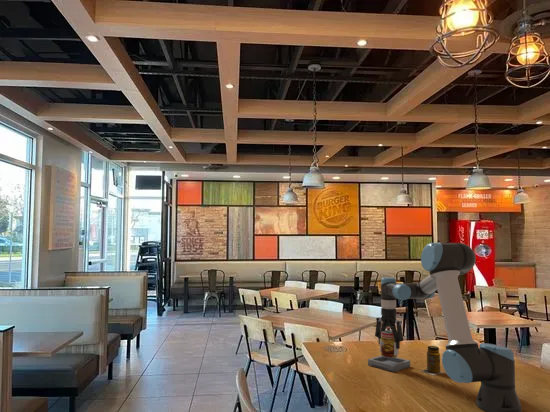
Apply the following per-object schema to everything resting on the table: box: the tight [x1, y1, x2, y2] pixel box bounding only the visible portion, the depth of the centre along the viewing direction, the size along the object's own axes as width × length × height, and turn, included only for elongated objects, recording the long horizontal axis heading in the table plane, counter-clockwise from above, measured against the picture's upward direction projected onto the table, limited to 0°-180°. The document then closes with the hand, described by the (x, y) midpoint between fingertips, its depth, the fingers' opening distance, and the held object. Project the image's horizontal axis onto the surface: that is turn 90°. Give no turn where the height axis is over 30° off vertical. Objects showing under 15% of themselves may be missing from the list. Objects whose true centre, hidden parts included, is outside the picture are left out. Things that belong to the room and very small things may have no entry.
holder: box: [367, 355, 411, 373], centre depth 211 cm, size 15×15×3 cm
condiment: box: [421, 345, 445, 376], centre depth 203 cm, size 7×8×12 cm
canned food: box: [380, 329, 398, 358], centre depth 212 cm, size 8×8×12 cm
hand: (389, 353), depth 212 cm, fingers closed on canned food, 8 cm apart
